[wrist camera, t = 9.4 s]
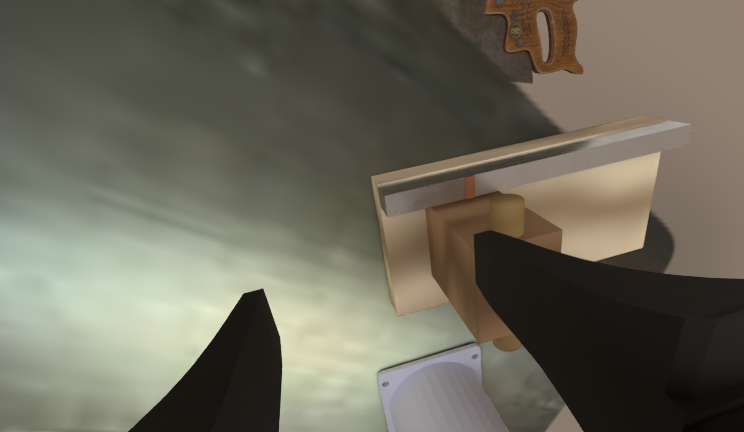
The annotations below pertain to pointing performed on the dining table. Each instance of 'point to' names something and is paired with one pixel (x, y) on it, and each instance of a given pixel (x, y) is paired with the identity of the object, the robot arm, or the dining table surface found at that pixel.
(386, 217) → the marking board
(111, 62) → the dining table surface
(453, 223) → the brown knobbed block
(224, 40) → the dining table surface
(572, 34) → the hand saw
